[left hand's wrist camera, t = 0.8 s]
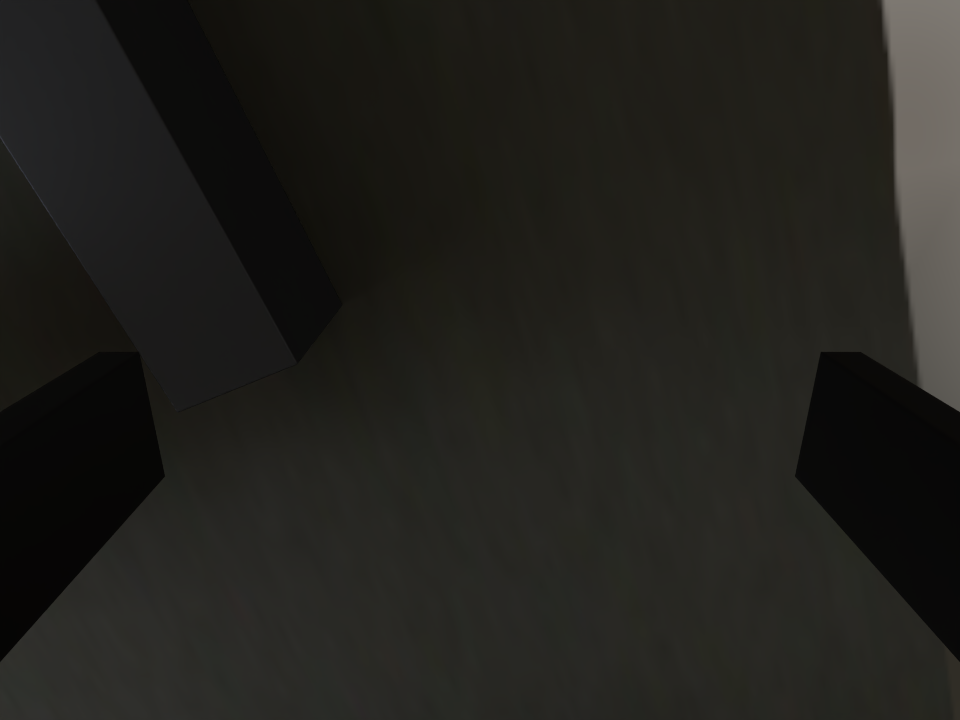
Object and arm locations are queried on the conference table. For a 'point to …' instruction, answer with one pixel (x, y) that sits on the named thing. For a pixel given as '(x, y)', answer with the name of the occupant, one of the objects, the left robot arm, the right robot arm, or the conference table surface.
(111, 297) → the bar
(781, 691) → the conference table surface
